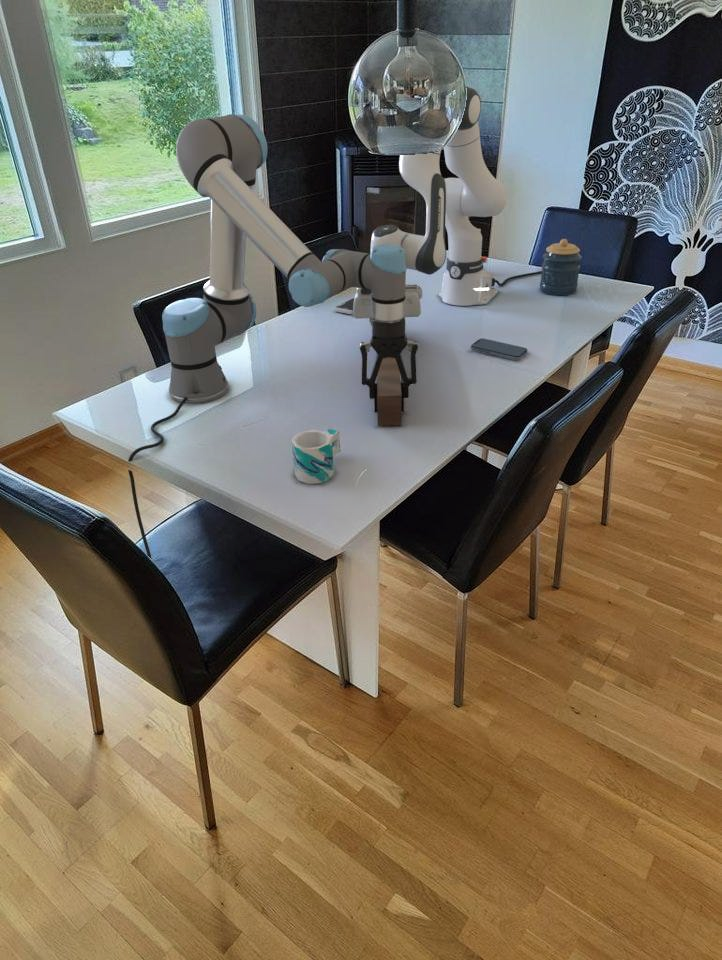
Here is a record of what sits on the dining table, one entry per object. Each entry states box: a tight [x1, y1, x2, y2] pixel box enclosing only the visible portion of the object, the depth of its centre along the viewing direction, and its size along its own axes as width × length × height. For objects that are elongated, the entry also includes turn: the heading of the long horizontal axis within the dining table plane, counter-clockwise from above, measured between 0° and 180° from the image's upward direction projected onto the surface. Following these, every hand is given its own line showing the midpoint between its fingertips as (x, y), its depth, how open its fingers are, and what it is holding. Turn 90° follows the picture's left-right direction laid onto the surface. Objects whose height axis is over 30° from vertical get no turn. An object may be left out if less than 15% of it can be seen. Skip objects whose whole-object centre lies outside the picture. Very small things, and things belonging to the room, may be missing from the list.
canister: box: [539, 238, 582, 296], centre depth 234 cm, size 13×13×18 cm
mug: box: [291, 427, 341, 485], centre depth 140 cm, size 8×12×8 cm
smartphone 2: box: [470, 337, 528, 361], centre depth 193 cm, size 8×2×15 cm
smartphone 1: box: [334, 297, 354, 315], centre depth 231 cm, size 8×1×15 cm
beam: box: [376, 357, 403, 427], centre depth 182 cm, size 62×6×8 cm, turn 179°
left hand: (389, 409), depth 163 cm, fingers closed on beam, 6 cm apart
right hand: (387, 331), depth 202 cm, fingers closed on beam, 5 cm apart
